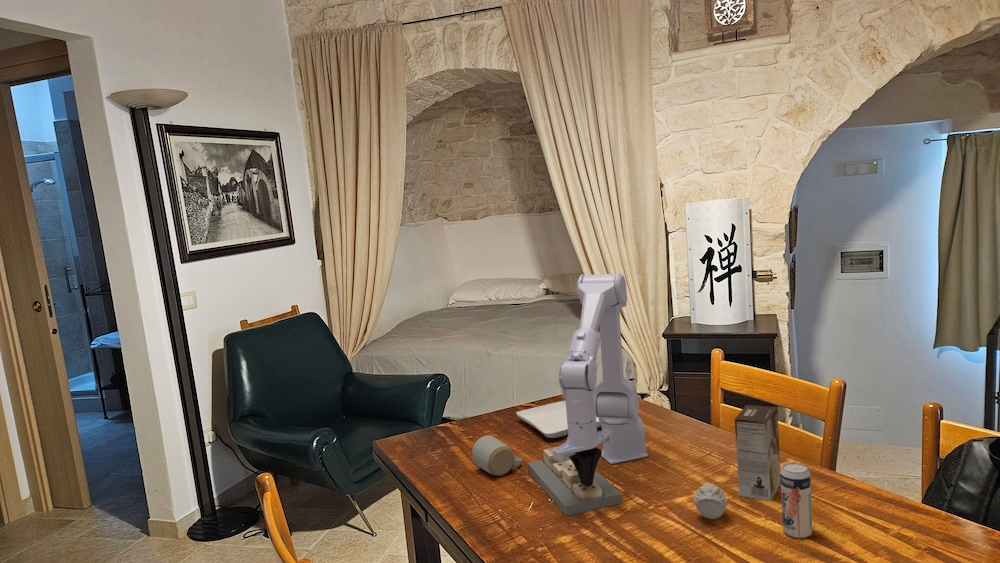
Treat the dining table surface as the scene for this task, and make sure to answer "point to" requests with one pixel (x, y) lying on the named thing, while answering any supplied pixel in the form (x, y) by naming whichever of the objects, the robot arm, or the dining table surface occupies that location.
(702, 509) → the frog figurine
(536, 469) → the grey slotted tray
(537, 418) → the salad plate
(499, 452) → the ceramic mug
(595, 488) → the beige square block
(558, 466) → the cream dice block
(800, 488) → the beer can
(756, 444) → the coffee box
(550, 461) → the key
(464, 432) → the dining table surface
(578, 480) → the beige small block
